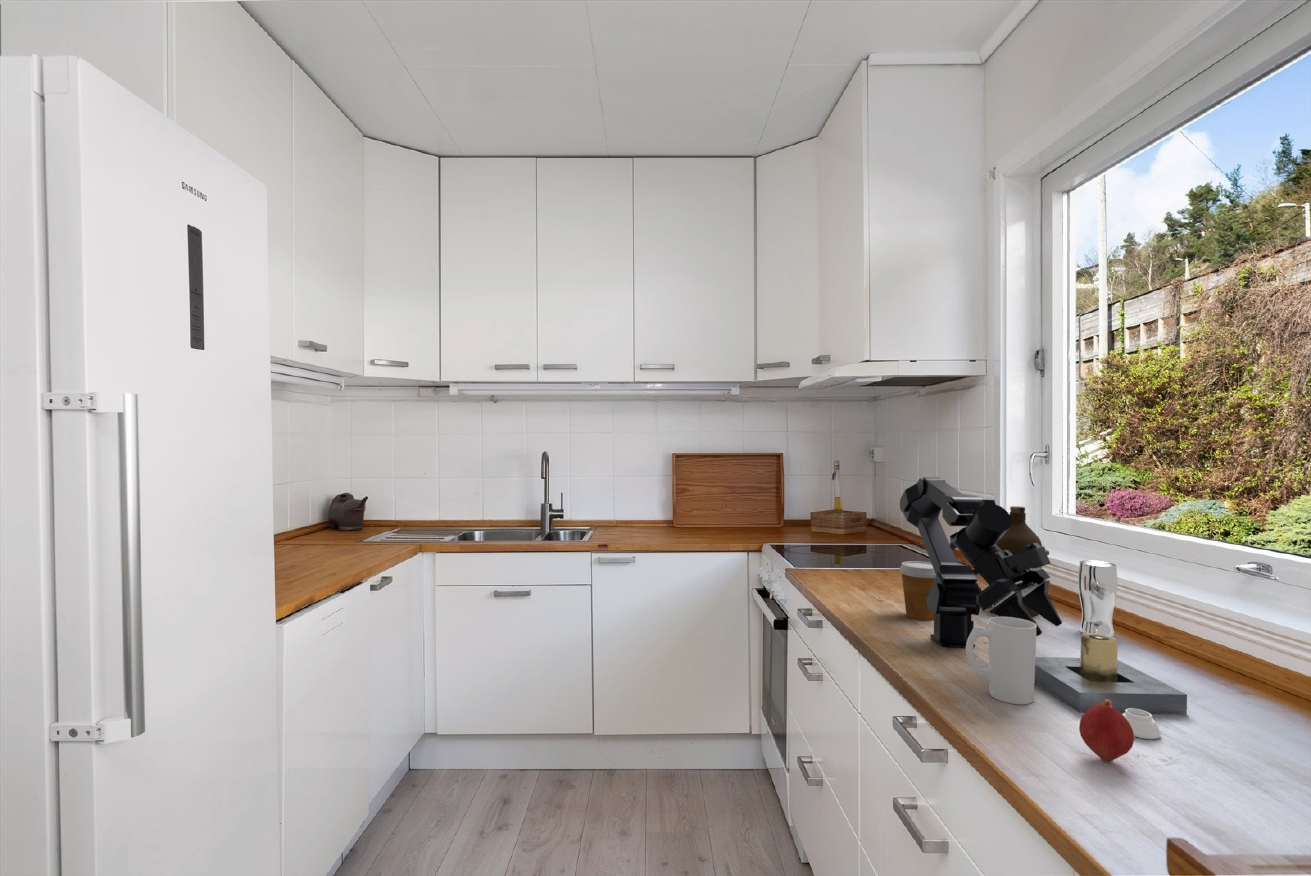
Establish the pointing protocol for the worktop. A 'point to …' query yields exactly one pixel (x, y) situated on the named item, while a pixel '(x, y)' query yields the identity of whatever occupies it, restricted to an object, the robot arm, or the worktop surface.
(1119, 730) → the onion
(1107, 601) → the beer glass
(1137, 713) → the white jar
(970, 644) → the mug
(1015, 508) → the olive oil
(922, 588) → the disposable coffee cup
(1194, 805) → the worktop surface
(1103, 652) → the brass bushing
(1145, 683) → the plate
